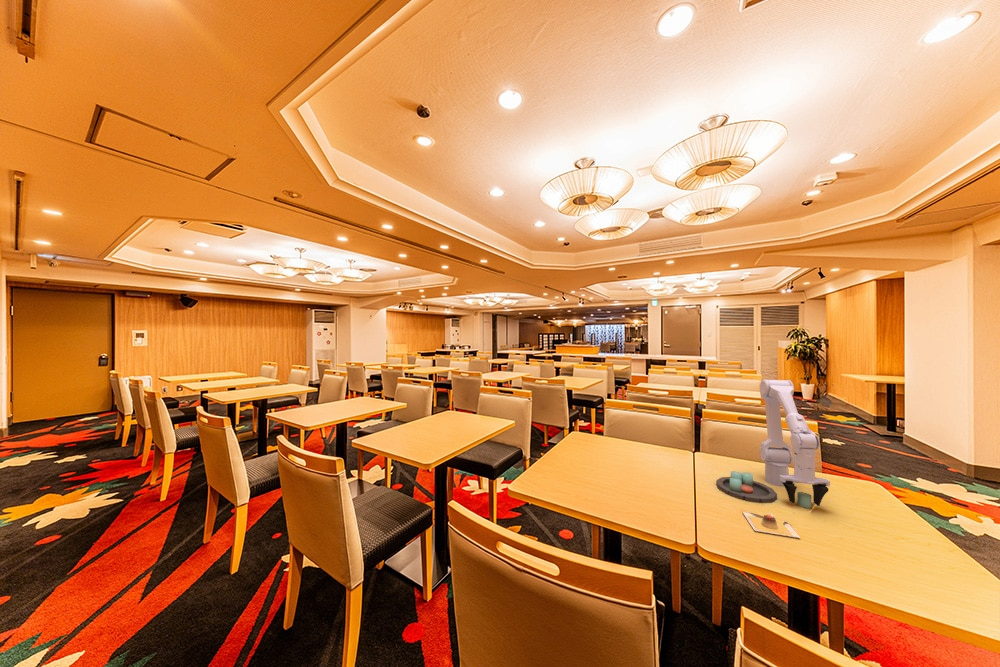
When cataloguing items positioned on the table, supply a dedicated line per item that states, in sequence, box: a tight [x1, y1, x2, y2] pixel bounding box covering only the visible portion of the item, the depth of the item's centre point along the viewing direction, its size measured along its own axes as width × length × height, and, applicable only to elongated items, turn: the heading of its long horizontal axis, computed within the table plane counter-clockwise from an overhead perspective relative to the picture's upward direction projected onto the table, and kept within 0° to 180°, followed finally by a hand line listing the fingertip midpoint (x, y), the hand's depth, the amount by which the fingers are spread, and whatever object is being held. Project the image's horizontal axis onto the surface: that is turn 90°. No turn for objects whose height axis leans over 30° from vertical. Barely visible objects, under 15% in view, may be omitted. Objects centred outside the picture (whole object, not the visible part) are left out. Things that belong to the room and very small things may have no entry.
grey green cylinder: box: [730, 478, 741, 493], centre depth 134 cm, size 4×4×5 cm
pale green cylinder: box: [741, 472, 754, 488], centre depth 140 cm, size 4×4×5 cm
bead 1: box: [730, 470, 742, 484], centre depth 141 cm, size 4×4×5 cm
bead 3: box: [796, 491, 812, 512], centre depth 125 cm, size 4×4×5 cm
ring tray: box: [715, 476, 778, 504], centre depth 136 cm, size 19×19×2 cm
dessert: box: [742, 511, 801, 539], centre depth 113 cm, size 12×12×5 cm
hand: (804, 503), depth 125 cm, fingers open, 7 cm apart
